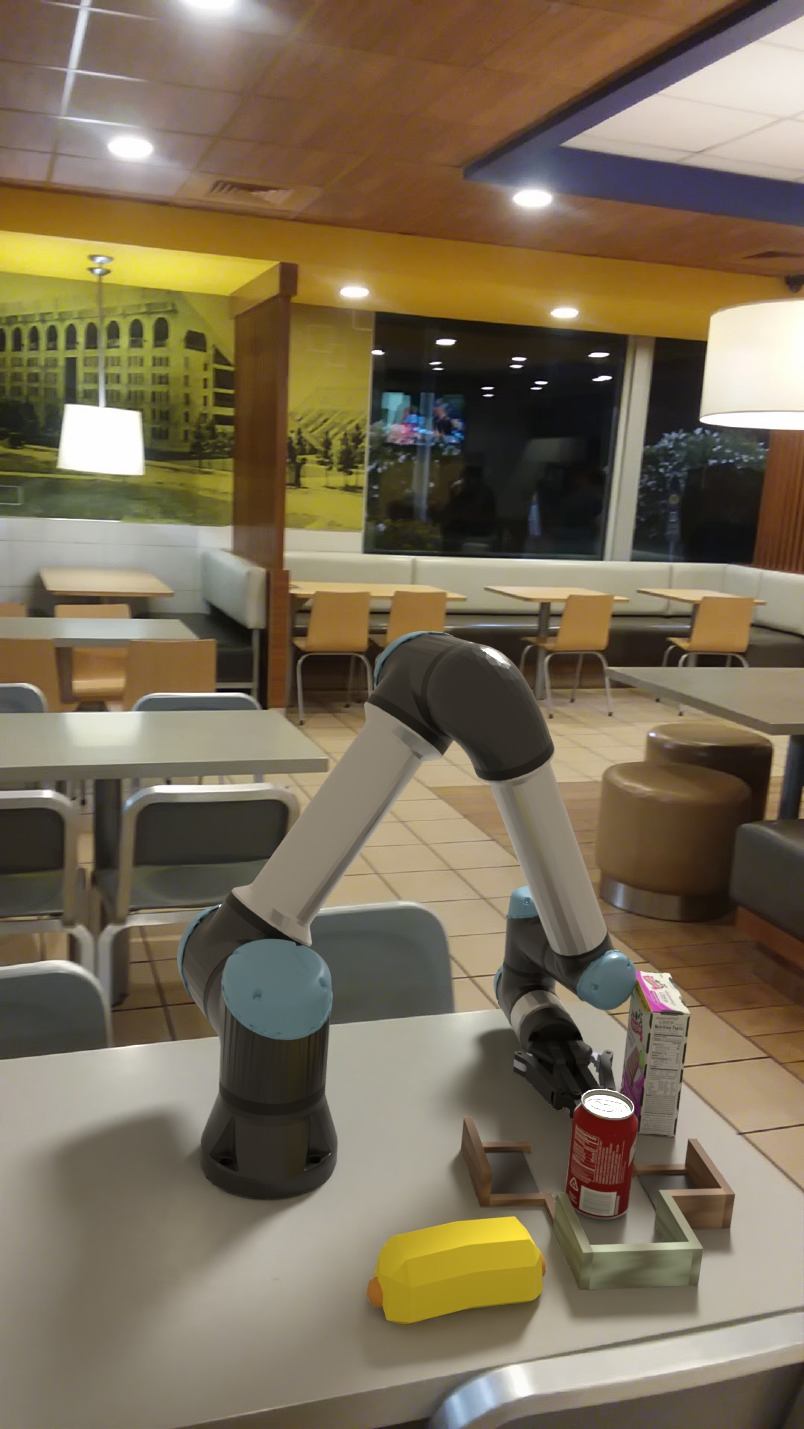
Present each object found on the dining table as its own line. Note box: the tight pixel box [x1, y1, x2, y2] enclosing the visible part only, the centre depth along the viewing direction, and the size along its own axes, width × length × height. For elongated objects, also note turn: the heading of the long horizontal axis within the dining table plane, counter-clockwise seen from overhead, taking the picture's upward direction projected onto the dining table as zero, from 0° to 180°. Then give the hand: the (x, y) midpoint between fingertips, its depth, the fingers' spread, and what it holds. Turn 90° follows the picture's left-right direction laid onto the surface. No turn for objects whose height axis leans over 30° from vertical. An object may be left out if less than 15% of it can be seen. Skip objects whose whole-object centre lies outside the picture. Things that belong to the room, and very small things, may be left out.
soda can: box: [564, 1089, 638, 1221], centre depth 114 cm, size 7×7×12 cm
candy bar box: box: [620, 970, 691, 1138], centre depth 133 cm, size 11×5×16 cm, turn 179°
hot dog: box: [366, 1215, 547, 1326], centre depth 100 cm, size 18×7×8 cm
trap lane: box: [460, 1116, 736, 1291], centre depth 114 cm, size 26×23×4 cm
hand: (606, 1137), depth 117 cm, fingers closed
